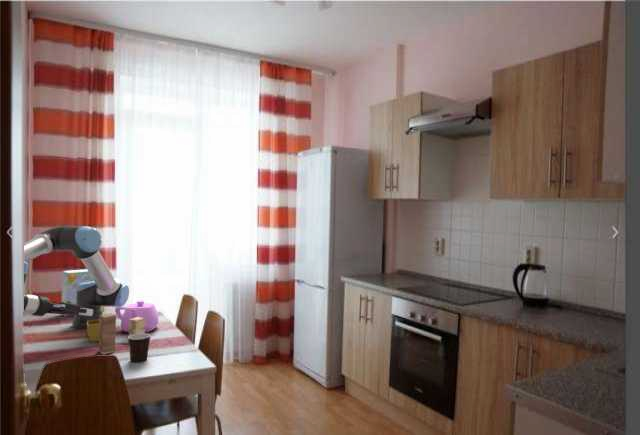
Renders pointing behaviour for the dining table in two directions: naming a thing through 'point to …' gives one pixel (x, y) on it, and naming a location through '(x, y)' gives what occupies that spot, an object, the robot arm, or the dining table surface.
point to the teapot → (138, 315)
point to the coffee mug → (138, 347)
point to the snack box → (73, 286)
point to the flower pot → (93, 330)
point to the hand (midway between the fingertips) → (91, 312)
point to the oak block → (136, 325)
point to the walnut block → (107, 333)
